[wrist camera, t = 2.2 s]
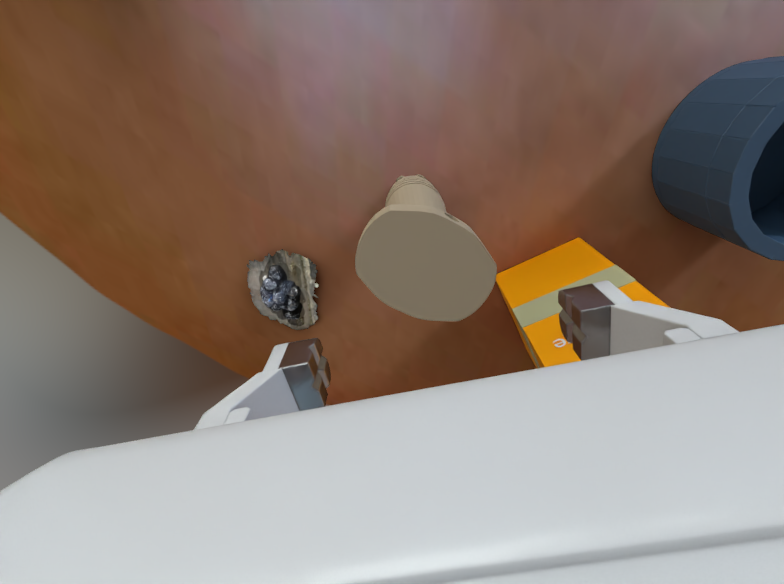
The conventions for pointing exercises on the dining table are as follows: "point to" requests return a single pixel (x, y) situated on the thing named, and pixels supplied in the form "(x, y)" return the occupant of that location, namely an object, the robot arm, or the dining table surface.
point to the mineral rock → (284, 288)
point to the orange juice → (540, 295)
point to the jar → (728, 157)
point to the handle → (424, 256)
